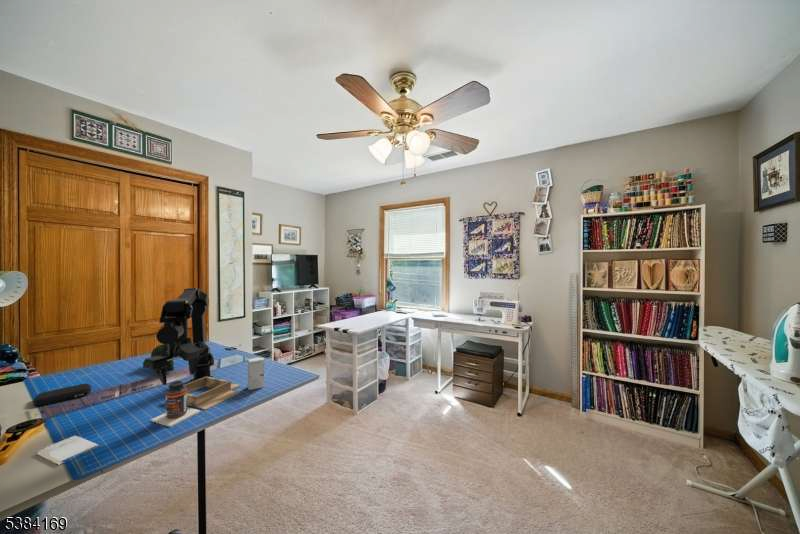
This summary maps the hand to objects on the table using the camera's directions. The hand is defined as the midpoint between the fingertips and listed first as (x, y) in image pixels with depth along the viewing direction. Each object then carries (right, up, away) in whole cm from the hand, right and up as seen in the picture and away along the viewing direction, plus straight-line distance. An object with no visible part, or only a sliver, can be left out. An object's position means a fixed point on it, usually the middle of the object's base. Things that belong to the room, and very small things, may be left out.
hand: (178, 379), depth 104 cm
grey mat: (0, -13, -1) cm, 13 cm away
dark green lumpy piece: (-39, -11, +42) cm, 58 cm away
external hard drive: (-17, -14, -19) cm, 29 cm away
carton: (+2, -12, +16) cm, 20 cm away
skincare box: (+16, -12, +23) cm, 30 cm away
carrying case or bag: (-54, -12, +12) cm, 57 cm away
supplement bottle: (0, -12, -1) cm, 12 cm away
